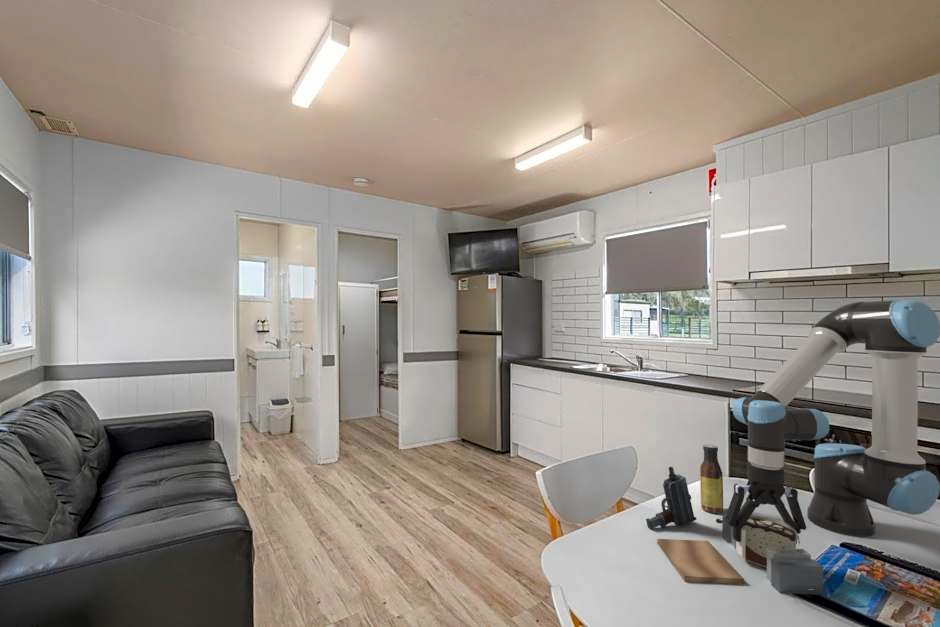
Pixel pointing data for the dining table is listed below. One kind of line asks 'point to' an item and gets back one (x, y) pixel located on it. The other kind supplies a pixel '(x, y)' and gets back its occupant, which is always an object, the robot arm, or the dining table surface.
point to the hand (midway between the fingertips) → (764, 555)
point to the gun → (674, 503)
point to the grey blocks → (787, 567)
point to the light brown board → (699, 561)
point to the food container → (767, 538)
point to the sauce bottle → (711, 481)
